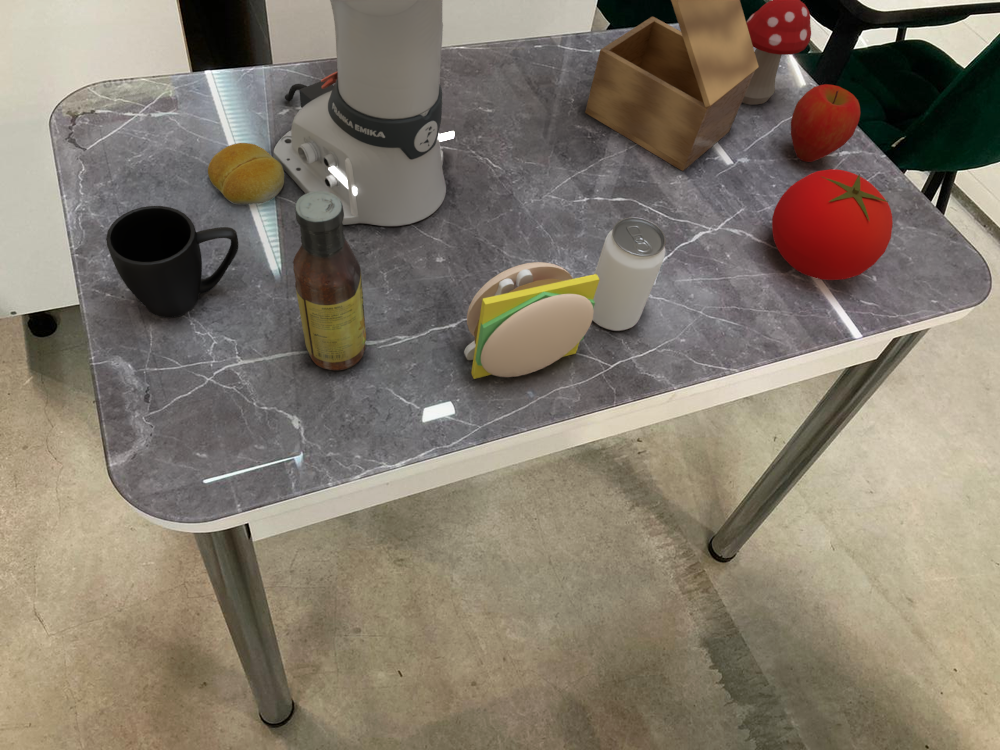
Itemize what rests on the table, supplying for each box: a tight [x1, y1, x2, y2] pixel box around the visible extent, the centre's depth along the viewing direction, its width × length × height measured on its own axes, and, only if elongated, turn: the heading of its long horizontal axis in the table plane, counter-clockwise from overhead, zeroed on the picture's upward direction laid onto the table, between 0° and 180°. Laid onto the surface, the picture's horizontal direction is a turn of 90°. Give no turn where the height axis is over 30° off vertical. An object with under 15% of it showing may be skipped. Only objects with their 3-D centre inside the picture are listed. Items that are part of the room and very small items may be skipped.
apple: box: [790, 83, 861, 163], centre depth 109 cm, size 9×8×11 cm
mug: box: [105, 205, 239, 319], centre depth 82 cm, size 8×12×10 cm
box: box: [584, 16, 755, 172], centre depth 110 cm, size 17×13×10 cm
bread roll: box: [207, 142, 285, 205], centre depth 95 cm, size 8×9×4 cm
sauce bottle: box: [292, 191, 367, 372], centre depth 76 cm, size 7×6×20 cm
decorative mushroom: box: [741, 0, 812, 105], centre depth 115 cm, size 10×9×15 cm
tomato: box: [771, 168, 894, 281], centre depth 96 cm, size 13×14×12 cm
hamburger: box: [463, 261, 600, 380], centre depth 82 cm, size 12×8×12 cm
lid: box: [670, 0, 759, 107], centre depth 98 cm, size 18×13×5 cm
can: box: [592, 216, 667, 332], centre depth 87 cm, size 6×6×12 cm
